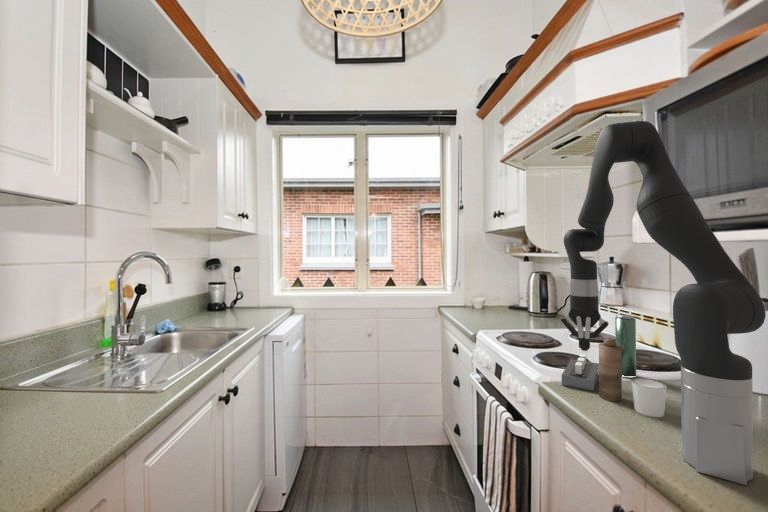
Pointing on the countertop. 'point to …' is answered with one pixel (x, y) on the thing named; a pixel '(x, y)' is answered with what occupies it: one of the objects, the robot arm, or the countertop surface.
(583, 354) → the far paddle
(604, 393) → the pepper mill
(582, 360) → the middle paddle
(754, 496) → the countertop surface
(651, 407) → the white cup
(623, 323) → the green tin
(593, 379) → the switch box
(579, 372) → the near paddle
